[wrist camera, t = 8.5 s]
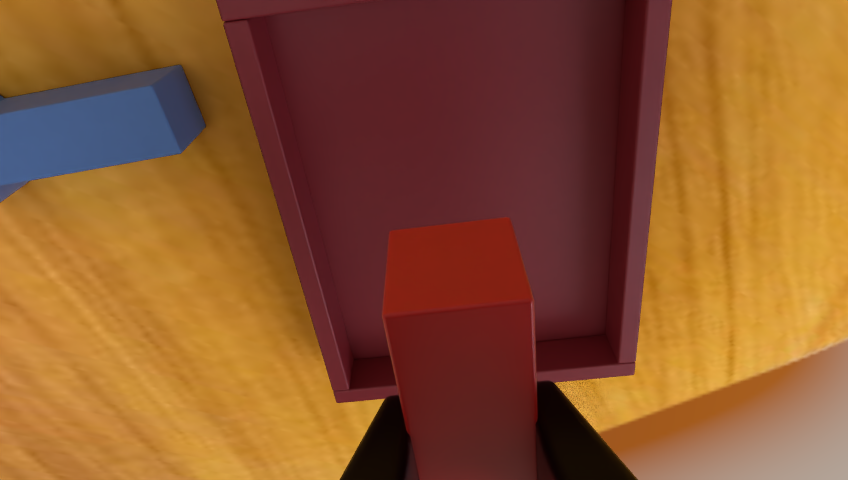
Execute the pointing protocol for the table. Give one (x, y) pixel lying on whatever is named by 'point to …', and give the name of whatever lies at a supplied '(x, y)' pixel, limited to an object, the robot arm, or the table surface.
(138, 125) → the blue spoon
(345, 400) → the red tray
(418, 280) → the red spoon
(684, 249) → the table surface
